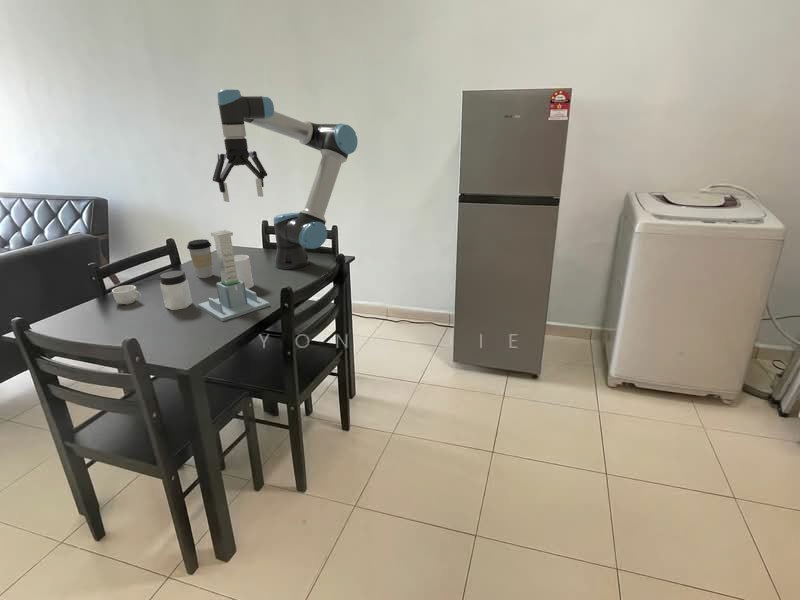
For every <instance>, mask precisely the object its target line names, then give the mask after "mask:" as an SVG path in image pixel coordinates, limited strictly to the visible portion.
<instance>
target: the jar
mask: <svg viewBox="0 0 800 600" xmlns="http://www.w3.org/2000/svg"><path fill="white" fill-rule="evenodd" d="M159 279H160V283H159V287H160V290H161V293H162V298H163V299H162V300H163V302H164V306H165V307H164V308H166V309H169V310H171V311H178V310H183V309H187V308H188V307H189V306H191V305H192V304H193V299H192V294H191V293H192V292H191V290H190V289H191V288H190V285H189V280H188V279H187V277H186V272H185V271H183V270H171V271H166V272H164V273H161V274H160V275H159Z"/></svg>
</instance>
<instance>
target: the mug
mask: <svg viewBox="0 0 800 600" xmlns="http://www.w3.org/2000/svg"><path fill="white" fill-rule="evenodd" d="M234 259H235V265H236V271H237V278H238V280H240V281H242V282H244V283H245V288H247V289H249V290H250V289H252V288H253V287H254V286H255V283H254V280H253V274H252V268H251V267H252V266H251V260H250V259H251V258H250V256H249V255H247V254H236V255H235V254H234Z"/></svg>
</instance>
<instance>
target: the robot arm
mask: <svg viewBox="0 0 800 600" xmlns="http://www.w3.org/2000/svg"><path fill="white" fill-rule="evenodd" d="M217 102H218V103H217V105H218V109H219V114H220V122H221V127H222V128H221V129H222V133H223V134H222V135H223V137H224V147H225V151H226V152H225V153H217V162H216V165H215V166H216V167H215V169H214V174H213V176H212V181H213V182H216V183H218V186H219V187H218V188H219V192H220V193H222V197H223V202H226V203H230V196H229V191H228V184H227V182H225V181H226V180H227V178H228V176H229V174H230V173H231V171H232V169H233V168H234V167H235V166H237V167H239V166H246V167H247V169H249V170H250V172H252V173H253V174H254V175H255V177H256V178H255V185H256V192H257V197H262V198H263V197H264V189H263V188H264V187H265V186H264V179H265V177H268V172H267V171H266V170H265V168H264V166H263V164H262V162H261V161H260V159H259V157H258V153H257V151H255V150H251V151H248V150H249V149H248V140H247V138H246V137H247V132H246V125H245V123H248V124H251V125H254V126H257V127H260V128H263V129H266V130H268V131H270V132H275V133H277V134H279V135H280V134H281V135H282V136H285V137H289V138H292V139H295V140H298V141H299V143H300V144H302V145H303V146H306V147H308V148H309V147H310V148H312V149H314V150H316V151H319V152H320V154H321V159H320V162H319V165H318V167H317V170H316V174H315V176H314V180H313V183H312V186H311V189H310V190H309V195H308V198H307V201H306V204H305V207H304V209H302V210H300V211H299V212H289V213H282V214H278V215H275V216H274V217H273V227H274V235H275V241H276V252H275V258H274V266H275V268H277V269H281V270H295V269H302V268H304V267H306V266H308V265H309V264H310V259H309V256H308V254H307V252H306V249H310V250H315V249H318V248H320V247H322V246H323V245H324V243H325V242H326V240H327V238H328V231H327V226H326V223H327V220H326V219H325V215H326V211H327V209H328V205H329V202H330V199H331V197H332V193H333V190H334V188H335V184H336V182H337V178H338V175H339V172H340V169H341V166H342V164H343V163H345V162H347V161H348V160H347V159H348V156H349V155H351V154H353V153H354V152H355V151H356V150H357V148H358V143H359V142H358V136H357V132H356V130H355V129H354V128H353V127H352V126H351V125H349V124H344V123H315V122H311V121H307V120H306V121H304V122H303V121H301V120H298V119H295V118H293V117H290V116H288V115H285V114H283V113H280V112H278V111H275V105H274V103H273V100H272V99H271V98H270V97H269V96H262V95H261V96H260V95H259V96H258V95H257V96H256V95H255V96H254V95H253V96H244V95H242V93H241V91H240V90H239V89H229V88H228V89H227V88H226V89H225V88H224V89H220V90H218V91H217ZM249 157H250V158H251V160H252V162H253V163H254V165H255V166H254V165H253V164H252V162H251V160H250V159H249ZM226 159H227V162H226V164H225V161H226ZM224 164H225V166H224ZM223 167H224V168H223Z"/></svg>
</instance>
